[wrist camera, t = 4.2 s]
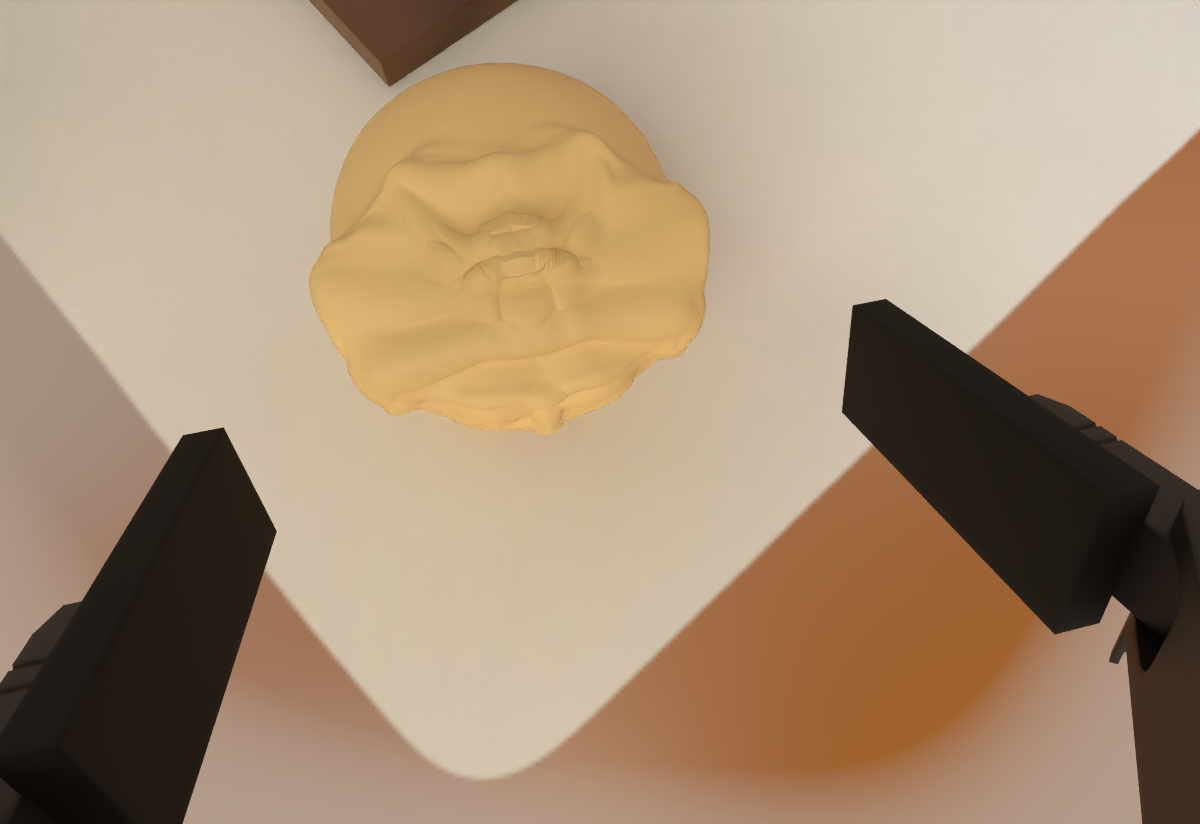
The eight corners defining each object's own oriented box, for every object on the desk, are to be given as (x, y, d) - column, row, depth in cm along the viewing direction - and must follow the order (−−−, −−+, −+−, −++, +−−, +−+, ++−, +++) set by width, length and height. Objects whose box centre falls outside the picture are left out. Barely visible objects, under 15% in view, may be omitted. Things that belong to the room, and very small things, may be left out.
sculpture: (404, 486, 25) (295, 432, 15) (357, 206, 28) (234, -10, 17) (691, 423, 27) (778, 332, 16) (622, 160, 29) (657, -68, 19)
